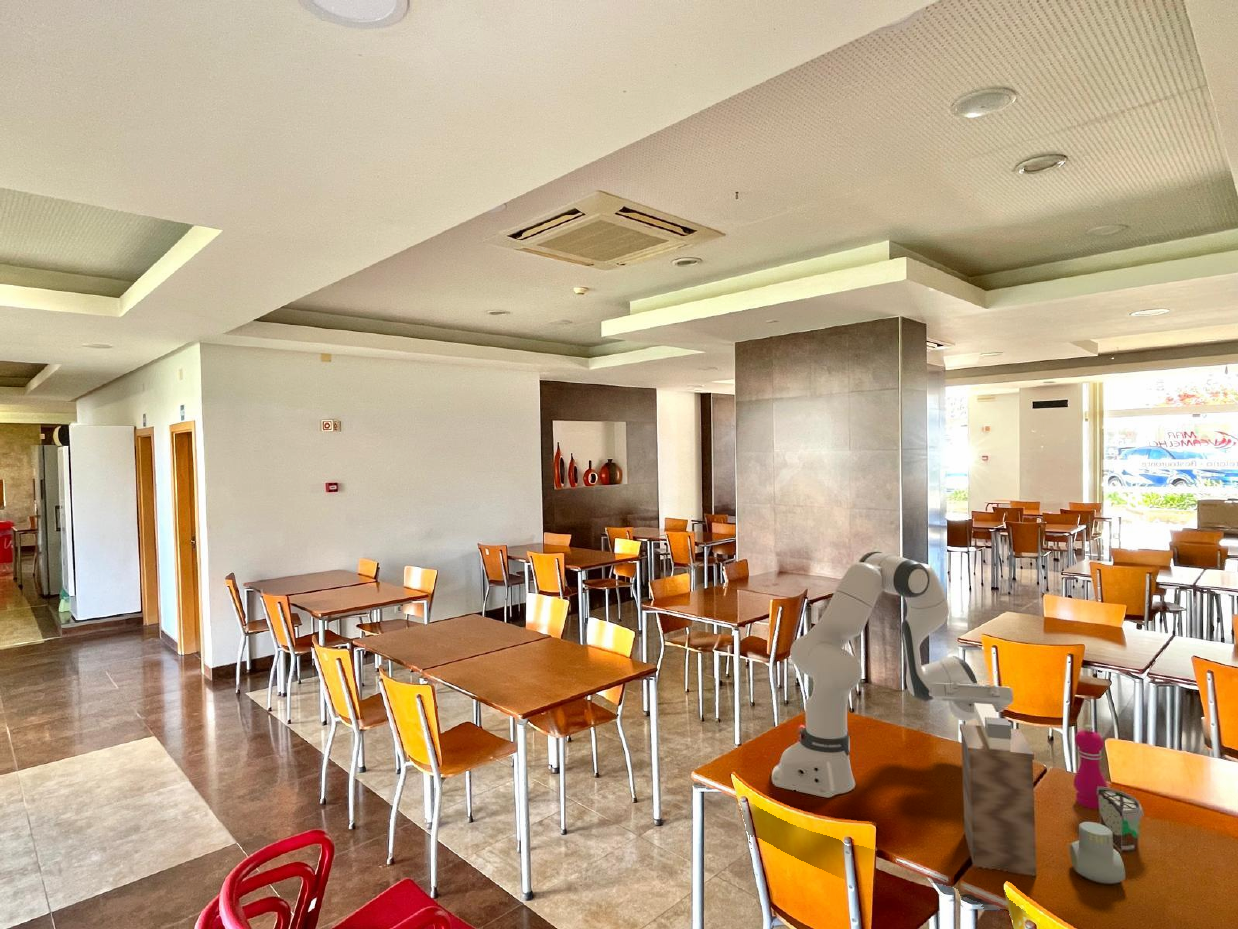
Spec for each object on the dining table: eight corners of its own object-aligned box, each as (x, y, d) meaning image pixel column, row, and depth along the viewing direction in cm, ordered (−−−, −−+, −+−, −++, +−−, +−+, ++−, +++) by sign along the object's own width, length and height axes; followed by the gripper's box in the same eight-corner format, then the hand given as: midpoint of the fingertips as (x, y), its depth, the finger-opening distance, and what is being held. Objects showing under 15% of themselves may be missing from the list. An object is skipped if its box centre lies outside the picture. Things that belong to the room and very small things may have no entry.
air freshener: (1068, 857, 151) (1066, 812, 151) (1113, 865, 148) (1111, 819, 148) (1080, 886, 141) (1078, 838, 141) (1128, 895, 138) (1126, 845, 138)
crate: (972, 866, 149) (967, 747, 149) (963, 833, 162) (959, 724, 162) (1038, 876, 145) (1034, 754, 145) (1023, 841, 158) (1019, 729, 158)
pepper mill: (1105, 799, 175) (1102, 722, 175) (1111, 813, 169) (1108, 732, 169) (1071, 794, 178) (1069, 718, 178) (1077, 807, 172) (1074, 728, 172)
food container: (1156, 859, 149) (1155, 813, 149) (1125, 856, 151) (1123, 811, 151) (1126, 829, 161) (1125, 787, 161) (1097, 827, 163) (1096, 785, 163)
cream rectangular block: (988, 748, 148) (987, 723, 148) (973, 713, 169) (972, 690, 169) (1011, 751, 146) (1010, 725, 146) (993, 714, 167) (992, 692, 167)
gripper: (927, 684, 199) (930, 673, 188) (1006, 689, 192) (1014, 677, 181) (929, 706, 196) (932, 696, 185) (1009, 712, 189) (1018, 702, 178)
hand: (973, 687), depth 183 cm, fingers open, 8 cm apart
